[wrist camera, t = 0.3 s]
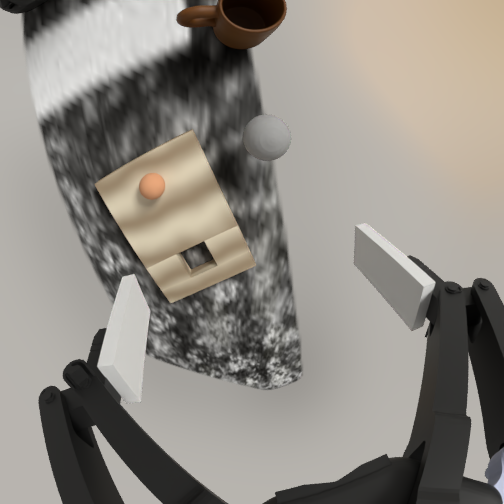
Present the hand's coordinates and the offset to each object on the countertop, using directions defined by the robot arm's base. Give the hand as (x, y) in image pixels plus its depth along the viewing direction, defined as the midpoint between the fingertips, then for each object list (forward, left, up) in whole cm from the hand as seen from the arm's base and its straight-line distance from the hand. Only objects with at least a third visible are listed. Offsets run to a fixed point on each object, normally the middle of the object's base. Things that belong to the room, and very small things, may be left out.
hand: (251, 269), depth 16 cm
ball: (-3, -8, -22) cm, 24 cm away
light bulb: (-3, +7, -27) cm, 28 cm away
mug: (-19, +9, -27) cm, 34 cm away
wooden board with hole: (+4, -8, -26) cm, 28 cm away
